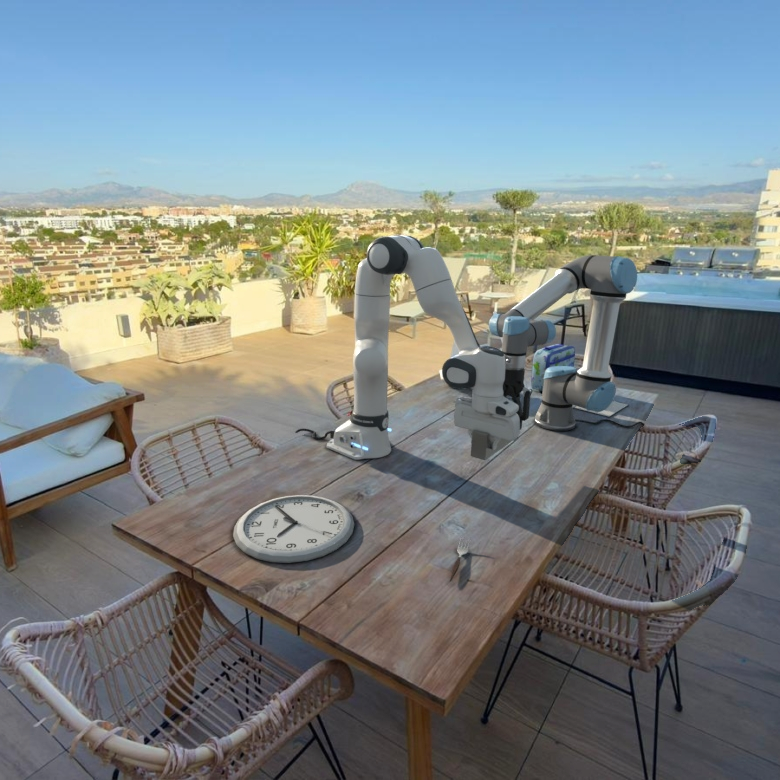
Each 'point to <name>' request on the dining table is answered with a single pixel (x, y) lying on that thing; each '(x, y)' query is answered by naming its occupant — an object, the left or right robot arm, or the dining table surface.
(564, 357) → the lunch box
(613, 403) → the invitation card
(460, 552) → the fork
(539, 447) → the dining table surface
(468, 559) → the dining table surface
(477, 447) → the bar
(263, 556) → the wall clock
